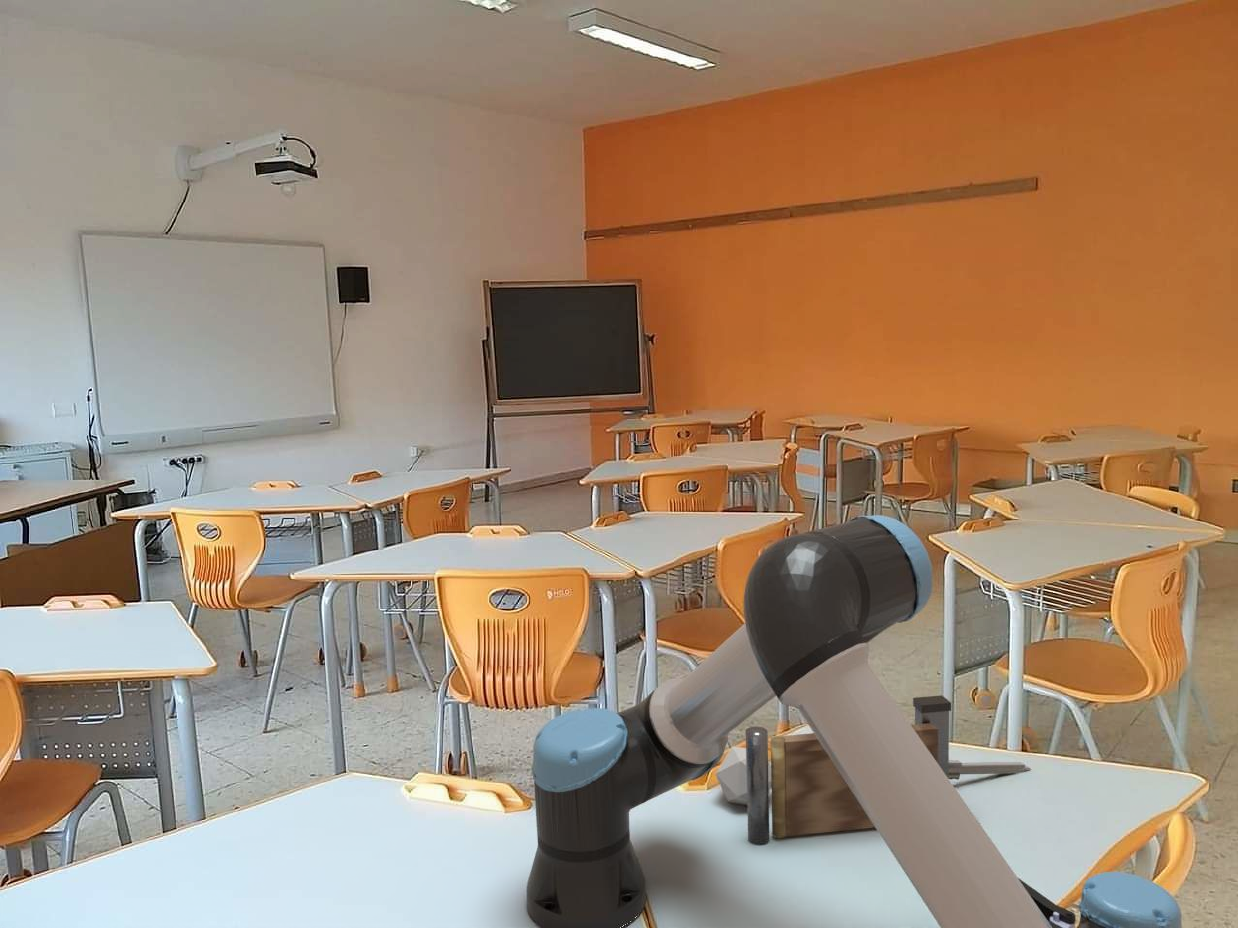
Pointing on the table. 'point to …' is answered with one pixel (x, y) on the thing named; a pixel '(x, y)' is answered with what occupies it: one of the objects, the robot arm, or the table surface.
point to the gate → (818, 786)
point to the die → (736, 776)
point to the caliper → (984, 768)
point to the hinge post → (757, 785)
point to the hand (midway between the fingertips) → (947, 847)
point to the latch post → (936, 723)
